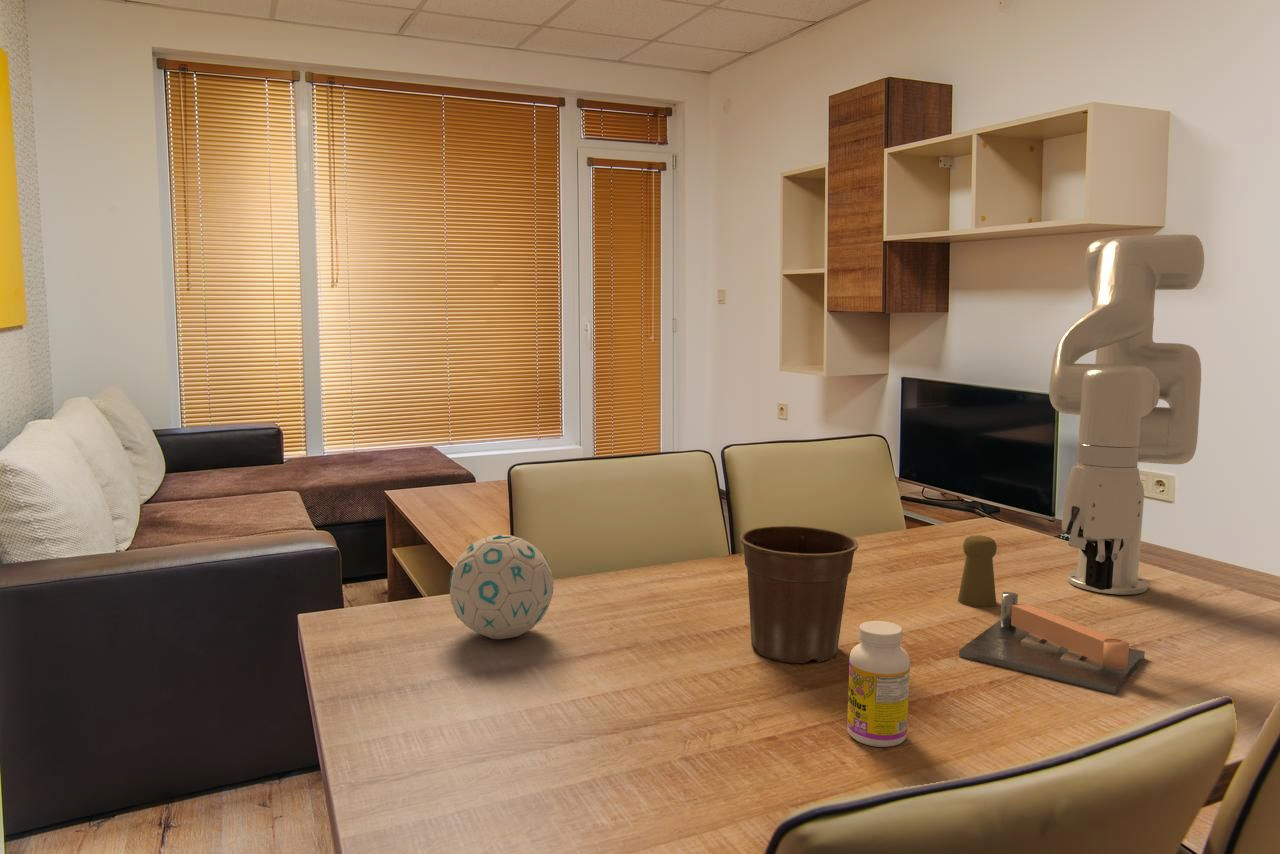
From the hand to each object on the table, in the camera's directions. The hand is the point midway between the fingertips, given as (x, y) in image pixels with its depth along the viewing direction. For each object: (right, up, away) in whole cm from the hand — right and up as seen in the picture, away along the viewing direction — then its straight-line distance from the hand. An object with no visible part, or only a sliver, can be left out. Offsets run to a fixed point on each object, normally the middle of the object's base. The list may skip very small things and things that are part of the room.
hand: (1098, 586), depth 133 cm
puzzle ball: (-84, -9, +7) cm, 85 cm away
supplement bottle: (-37, -13, -25) cm, 47 cm away
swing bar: (-5, -8, -2) cm, 9 cm away
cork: (-9, -7, +24) cm, 26 cm away
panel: (-7, -10, -1) cm, 12 cm away
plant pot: (-42, -9, +2) cm, 43 cm away
